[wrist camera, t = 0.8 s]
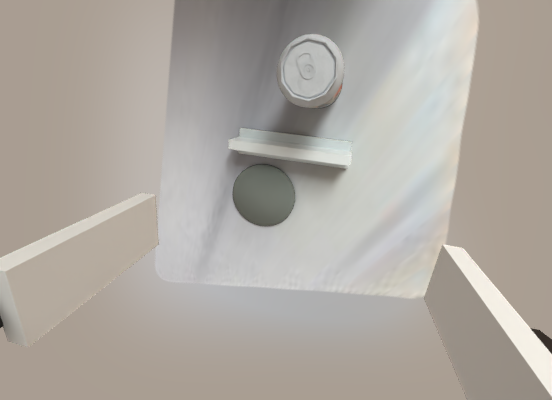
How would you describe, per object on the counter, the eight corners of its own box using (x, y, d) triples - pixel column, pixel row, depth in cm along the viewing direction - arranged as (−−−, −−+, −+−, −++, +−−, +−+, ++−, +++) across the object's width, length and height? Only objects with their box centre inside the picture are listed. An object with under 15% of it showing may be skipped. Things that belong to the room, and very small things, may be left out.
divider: (241, 127, 33) (229, 130, 29) (352, 141, 31) (354, 146, 27) (239, 152, 34) (227, 157, 30) (347, 167, 32) (348, 175, 28)
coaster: (235, 160, 35) (234, 160, 34) (299, 169, 33) (298, 170, 33) (232, 218, 37) (231, 220, 37) (291, 229, 36) (290, 231, 35)
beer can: (305, 114, 31) (287, 117, 20) (291, 71, 30) (263, 49, 19) (347, 98, 30) (353, 91, 19) (334, 52, 29) (331, 16, 18)
